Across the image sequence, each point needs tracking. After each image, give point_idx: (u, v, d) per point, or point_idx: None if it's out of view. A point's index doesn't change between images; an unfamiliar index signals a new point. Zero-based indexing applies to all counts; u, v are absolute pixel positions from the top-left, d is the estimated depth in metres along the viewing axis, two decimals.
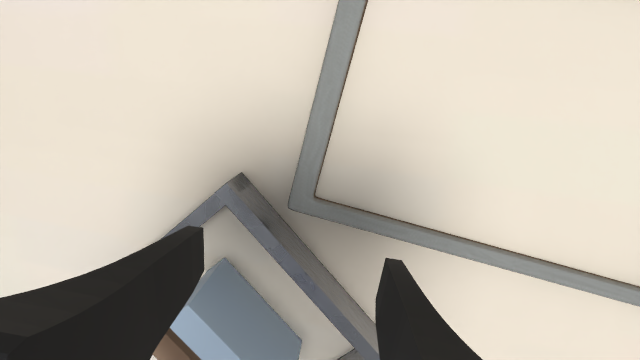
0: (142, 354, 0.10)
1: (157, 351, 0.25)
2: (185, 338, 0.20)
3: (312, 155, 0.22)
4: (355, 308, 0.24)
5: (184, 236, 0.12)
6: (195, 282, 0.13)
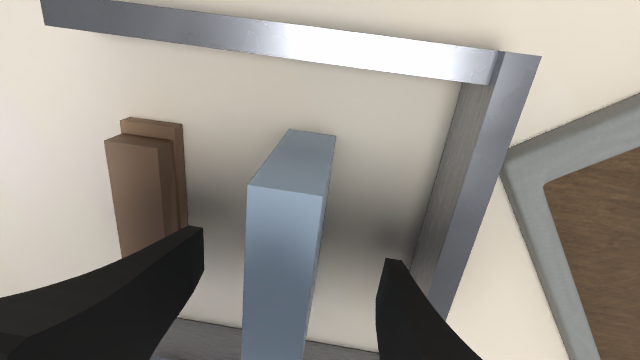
0: (142, 354, 0.10)
1: (120, 171, 0.14)
2: (254, 235, 0.09)
3: (626, 135, 0.12)
4: None
5: (184, 236, 0.12)
6: (196, 282, 0.13)
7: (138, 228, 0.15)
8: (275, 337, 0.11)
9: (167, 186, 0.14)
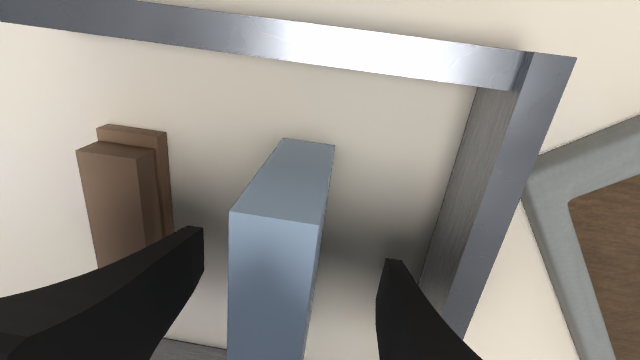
0: (142, 354, 0.10)
1: (95, 184, 0.12)
2: (238, 268, 0.08)
3: None
4: None
5: (184, 236, 0.12)
6: (195, 282, 0.13)
7: (118, 246, 0.13)
8: None
9: (149, 200, 0.13)
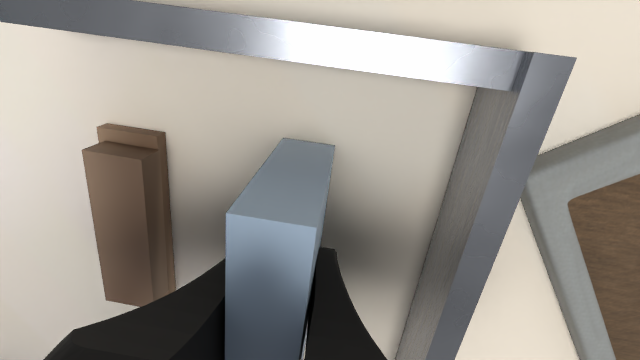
0: None
1: (100, 184, 0.12)
2: (236, 270, 0.08)
3: None
4: None
5: None
6: None
7: (121, 245, 0.13)
8: None
9: (153, 200, 0.13)
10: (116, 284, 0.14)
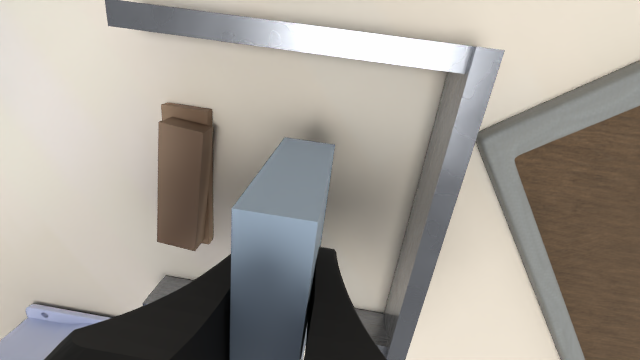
0: None
1: (168, 149, 0.16)
2: (241, 263, 0.08)
3: (580, 115, 0.14)
4: None
5: None
6: None
7: (176, 198, 0.17)
8: None
9: (205, 165, 0.17)
10: (167, 229, 0.18)
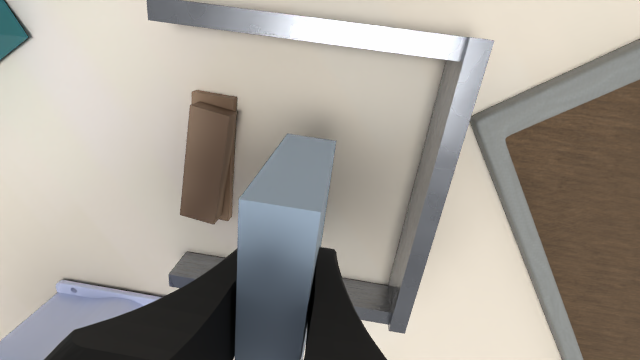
0: None
1: (197, 130, 0.18)
2: (247, 252, 0.09)
3: (563, 99, 0.16)
4: None
5: None
6: None
7: (201, 175, 0.19)
8: (270, 358, 0.10)
9: (228, 146, 0.19)
10: (190, 203, 0.20)
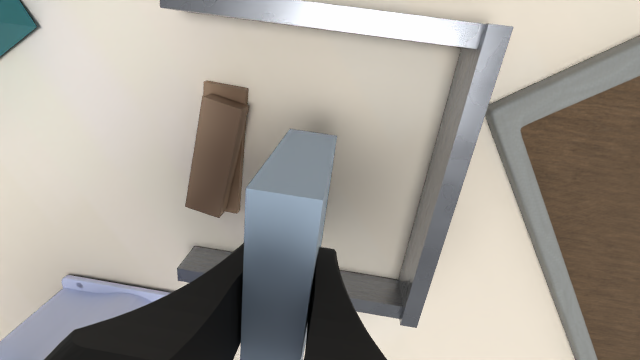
0: None
1: (207, 122, 0.18)
2: (253, 239, 0.09)
3: (580, 87, 0.16)
4: None
5: None
6: None
7: (209, 167, 0.19)
8: (274, 341, 0.11)
9: (238, 139, 0.19)
10: (196, 195, 0.20)
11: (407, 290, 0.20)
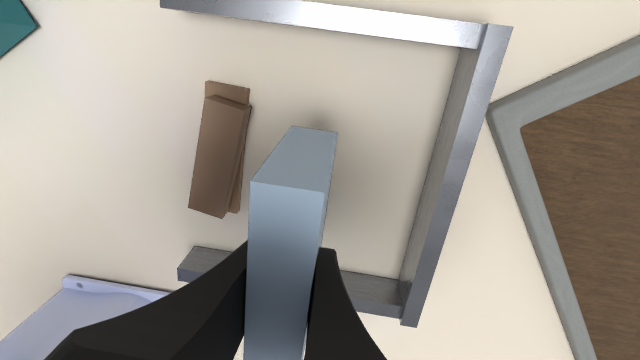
0: None
1: (210, 123, 0.18)
2: (257, 230, 0.09)
3: (579, 87, 0.16)
4: None
5: None
6: None
7: (211, 168, 0.19)
8: (277, 331, 0.11)
9: (240, 140, 0.19)
10: (199, 196, 0.20)
11: (407, 290, 0.20)
